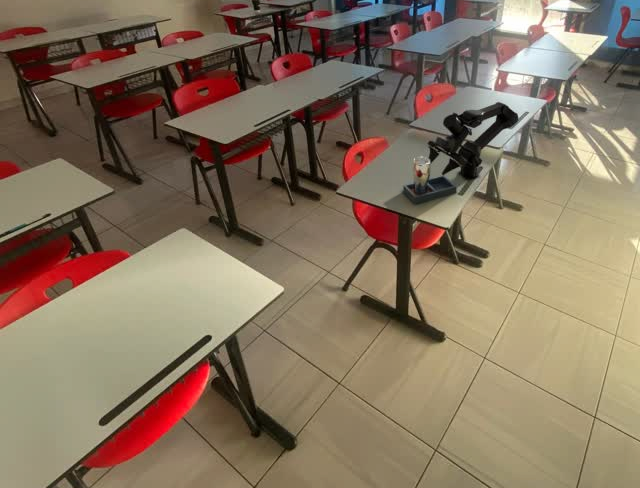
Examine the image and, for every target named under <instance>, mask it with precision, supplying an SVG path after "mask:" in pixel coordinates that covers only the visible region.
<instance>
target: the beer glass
mask: <svg viewBox="0 0 640 488" xmlns="http://www.w3.org/2000/svg"><path fill="white" fill-rule="evenodd" d="M428 158H429V157H425V156H418V157H415V158H414V159H413V165H412V178H413V183H414V189H413V194H414V195H416V196H419V195H423V194H426V193H428V190H427V184H428V180H429V179H430V176H431V167H432V166H431V164H430V162H431V161H430V159H428Z"/></svg>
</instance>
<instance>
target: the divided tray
mask: <svg viewBox="0 0 640 488" xmlns="http://www.w3.org/2000/svg"><path fill="white" fill-rule="evenodd" d="M402 187H403V188H402V191H403V193H404V194H405V195H406V196H407V197H408V198H409V200H410V201H411V202H412V203H413V204H414V205H416V204H421V203H423V202H427V201H431V200H435V199H439V198H442V197H446V196H450V195H453V194H456V193H457V185H455V184H454V183H453V182H452V181H451V180H450V179H449V178H448V177H446V176H445V175H442V174H441V175H439V176H435V177H429V180H428V184H427V190H428V193H426V194H423V195H419V196H416V195H414V194H413V189H414V182H411V183H407V184H403V186H402Z"/></svg>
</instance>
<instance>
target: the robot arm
mask: <svg viewBox="0 0 640 488" xmlns="http://www.w3.org/2000/svg"><path fill="white" fill-rule="evenodd" d="M494 117H495V121H494V122H493V123H492V124H491V125H490V126H489V127H488V128H486V129H485V130H484V131H483V132H482V133H481V134H480V135H479V136H478V137H477V138H475V140H474V141H472V142H471V141H470V140H467V141H466V139H467V137H468V136H470V137H471V136H473V129H476V128H477V127H479V126H481V125H482V124H483V122H484V121H486V120H489V119H491V118H494ZM518 121H519V114H518V113H517V112H515V111H514V110H513V109H511V108H510V107H509V105H507V104H506V103H503V102H500V101H497V102H495V103H494V104H493V103H492V104H491V105H488V106H486V107H483V108H480V109H468V110H467V109H466V110H464V111H463V112H462V113H460V114H459V113H456V112H453V113H452V114H449V115H447V116H445V117H444V118H443V121H442V125H443V126H444V127H445V128H446V130H448V131H449V132H450V135H447V136H446V137H444V136H440V135H437V136H436V139H435V140H434V139H429V141H428V142H427V146H428V149H429V154H428V157H427V158H428V159H430V161H431V162H430V165H431V164H432V163H433V162H434V161H436V159H437V158H438V157H439V155H440V153H442V154H444V155H446V156H447V157H449V160H448V163H447V165H446V166H445V167H444V168H443V171H442V172H441V176H442V175H444V176H445V175H447V174H448V173H449V172H451V171H454V170H456V169H458V168H460V170H459V171H458V174H459V175H461V176H462V177H463V178H464V179H466V180H470V179H474V178H477V177H479V173H478V168H479V167H480V166H481V165H482V162H483V159H482V158H481V153H482V151H483V149H485V147H486V146H488V145H489V144H490V143H491V142H492V141H493V140H494V139H495V138H496V137H497V136H498V135H499V134H500V133H501V132H502V131H504V130H507V129H510V128H512V127H514V125H516V124H517V123H518ZM464 141H465V143H464Z"/></svg>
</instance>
